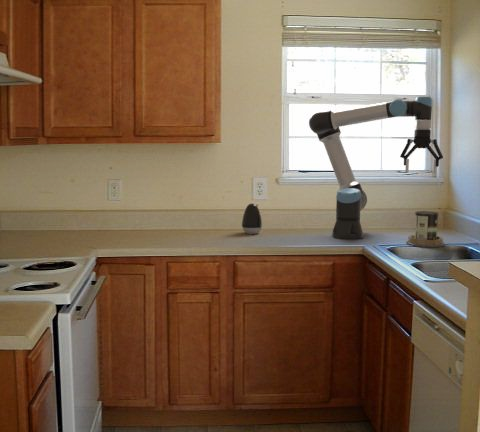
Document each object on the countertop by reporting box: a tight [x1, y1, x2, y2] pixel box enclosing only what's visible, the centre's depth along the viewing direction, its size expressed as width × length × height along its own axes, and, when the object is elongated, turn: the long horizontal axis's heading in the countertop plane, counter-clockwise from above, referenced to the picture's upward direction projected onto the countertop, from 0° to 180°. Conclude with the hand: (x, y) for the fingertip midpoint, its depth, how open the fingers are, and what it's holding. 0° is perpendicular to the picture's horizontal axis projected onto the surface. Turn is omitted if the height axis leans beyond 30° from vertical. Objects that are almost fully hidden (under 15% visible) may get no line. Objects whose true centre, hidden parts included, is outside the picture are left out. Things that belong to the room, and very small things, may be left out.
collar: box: [406, 234, 445, 249], centre depth 310 cm, size 17×17×3 cm
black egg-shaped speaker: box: [241, 203, 263, 235], centre depth 337 cm, size 10×10×15 cm
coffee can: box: [414, 210, 439, 240], centre depth 310 cm, size 10×10×14 cm
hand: (420, 172), depth 327 cm, fingers open, 13 cm apart
